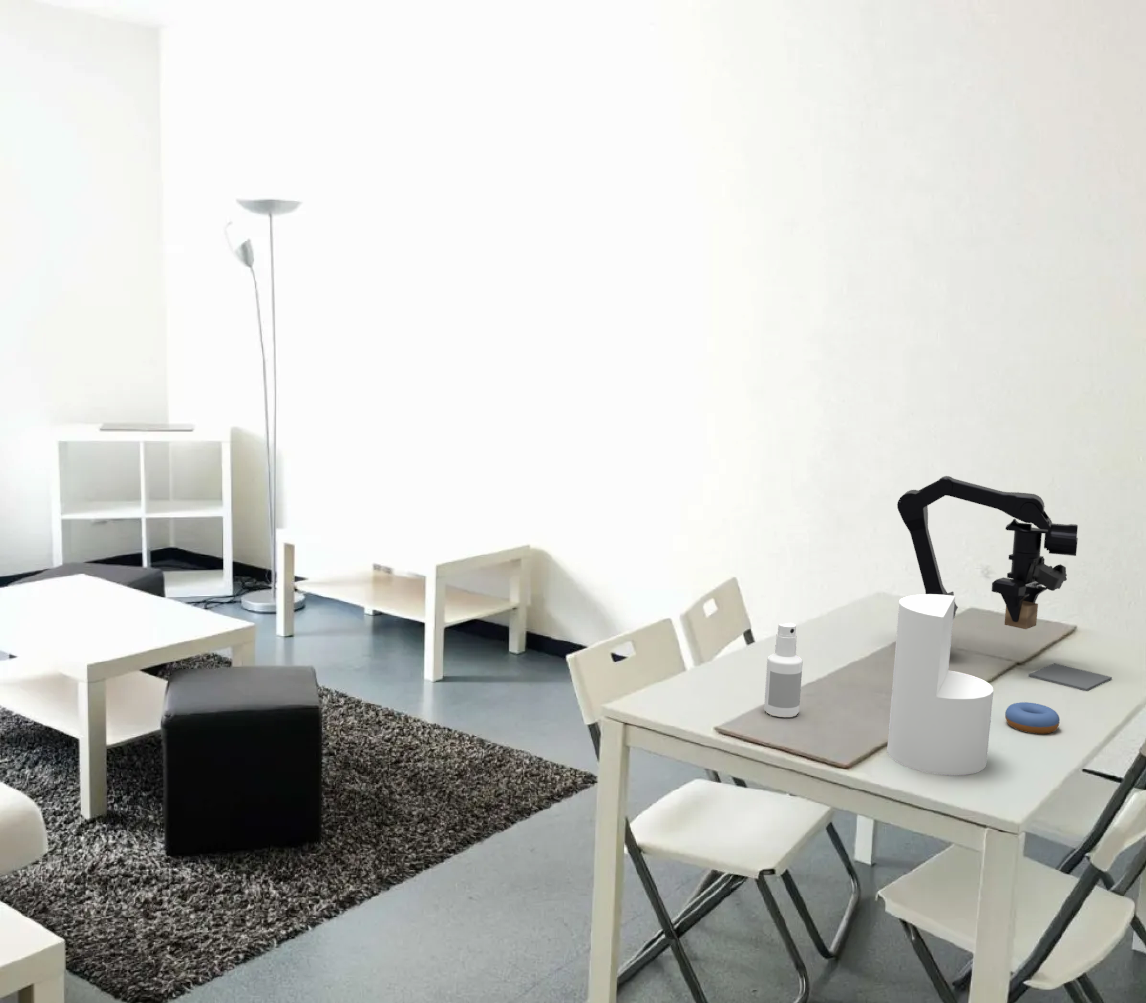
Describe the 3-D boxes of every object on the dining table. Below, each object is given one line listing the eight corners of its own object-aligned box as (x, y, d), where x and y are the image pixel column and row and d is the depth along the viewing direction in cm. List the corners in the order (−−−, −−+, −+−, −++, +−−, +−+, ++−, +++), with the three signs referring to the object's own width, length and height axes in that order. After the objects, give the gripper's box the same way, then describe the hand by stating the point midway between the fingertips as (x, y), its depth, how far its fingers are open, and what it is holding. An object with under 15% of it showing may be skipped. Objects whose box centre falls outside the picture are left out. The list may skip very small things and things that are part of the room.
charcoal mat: (1086, 691, 259) (1086, 688, 259) (1028, 676, 268) (1028, 674, 268) (1111, 679, 268) (1111, 677, 268) (1054, 665, 277) (1054, 663, 277)
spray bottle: (778, 720, 234) (783, 630, 231) (757, 709, 240) (762, 621, 237) (806, 716, 237) (812, 627, 234) (784, 705, 243) (790, 618, 240)
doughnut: (995, 725, 235) (1000, 702, 234) (1014, 715, 243) (1019, 694, 242) (1046, 743, 229) (1051, 720, 228) (1063, 732, 237) (1068, 710, 236)
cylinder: (879, 764, 214) (891, 610, 209) (895, 733, 230) (906, 589, 225) (981, 782, 207) (996, 624, 202) (990, 749, 223) (1004, 602, 218)
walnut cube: (1025, 629, 267) (1027, 607, 266) (1004, 624, 270) (1006, 603, 269) (1036, 625, 270) (1038, 603, 269) (1014, 621, 274) (1016, 599, 273)
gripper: (1042, 563, 255) (1036, 634, 258) (1080, 551, 268) (1074, 620, 271) (993, 554, 263) (987, 624, 266) (1032, 543, 276) (1026, 610, 279)
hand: (1020, 619), depth 270 cm, fingers closed on walnut cube, 5 cm apart
